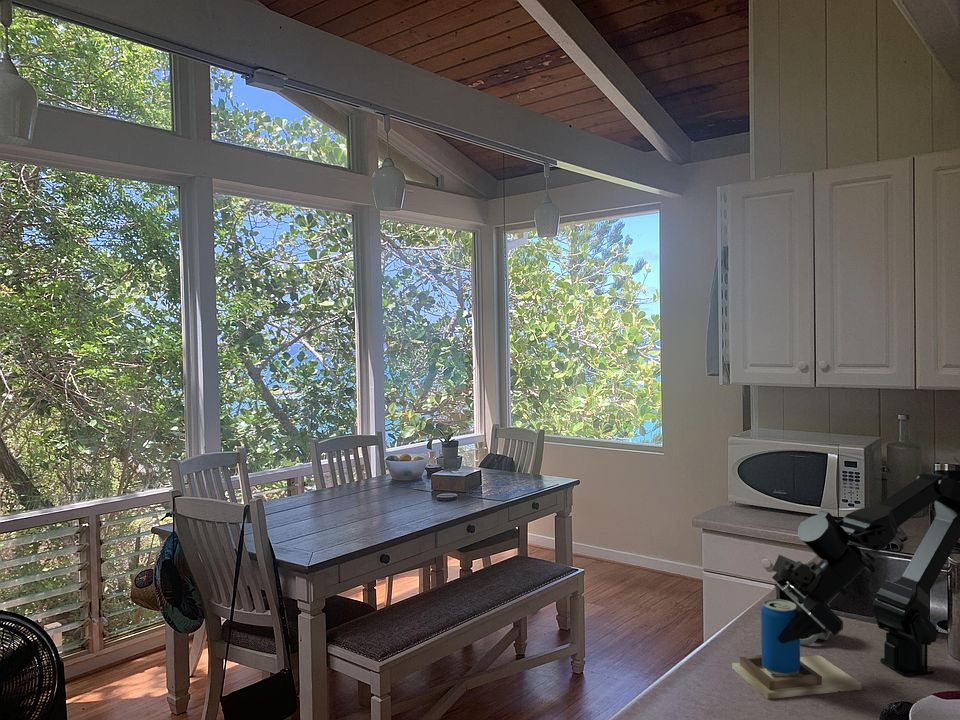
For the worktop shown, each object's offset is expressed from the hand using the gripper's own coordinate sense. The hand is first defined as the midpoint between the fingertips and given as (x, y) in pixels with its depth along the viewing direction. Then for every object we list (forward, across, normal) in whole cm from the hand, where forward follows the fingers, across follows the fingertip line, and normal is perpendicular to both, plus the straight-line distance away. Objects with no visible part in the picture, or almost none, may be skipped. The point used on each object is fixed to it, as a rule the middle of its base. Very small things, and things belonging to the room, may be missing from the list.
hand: (772, 633), depth 133 cm
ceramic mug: (-3, -20, +16) cm, 26 cm away
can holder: (+3, -1, +9) cm, 9 cm away
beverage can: (+4, 0, +6) cm, 7 cm away
